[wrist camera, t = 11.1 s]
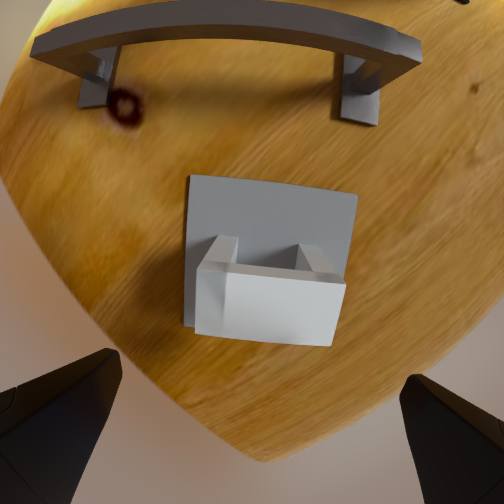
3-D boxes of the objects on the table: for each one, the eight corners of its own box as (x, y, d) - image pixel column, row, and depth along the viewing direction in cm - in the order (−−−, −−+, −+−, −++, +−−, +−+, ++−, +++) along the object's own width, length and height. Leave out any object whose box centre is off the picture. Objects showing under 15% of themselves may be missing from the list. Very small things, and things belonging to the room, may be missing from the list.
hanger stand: (376, 58, 14) (428, 14, 7) (374, 126, 15) (434, 106, 9) (95, 46, 14) (38, 12, 7) (82, 108, 15) (14, 92, 9)
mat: (356, 194, 17) (358, 195, 16) (326, 337, 19) (327, 340, 19) (192, 174, 17) (190, 174, 16) (185, 323, 19) (183, 325, 19)
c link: (309, 291, 18) (330, 346, 12) (215, 281, 18) (194, 333, 12) (318, 245, 17) (346, 284, 11) (218, 234, 17) (196, 268, 11)
